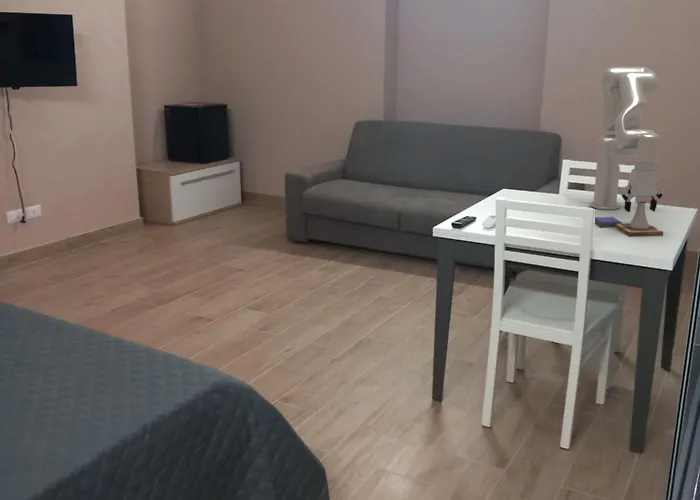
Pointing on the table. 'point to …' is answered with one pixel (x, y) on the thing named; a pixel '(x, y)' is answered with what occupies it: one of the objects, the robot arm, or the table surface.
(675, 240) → the table surface
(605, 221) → the ink pad
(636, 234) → the marked board
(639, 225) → the flask
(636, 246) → the table surface
